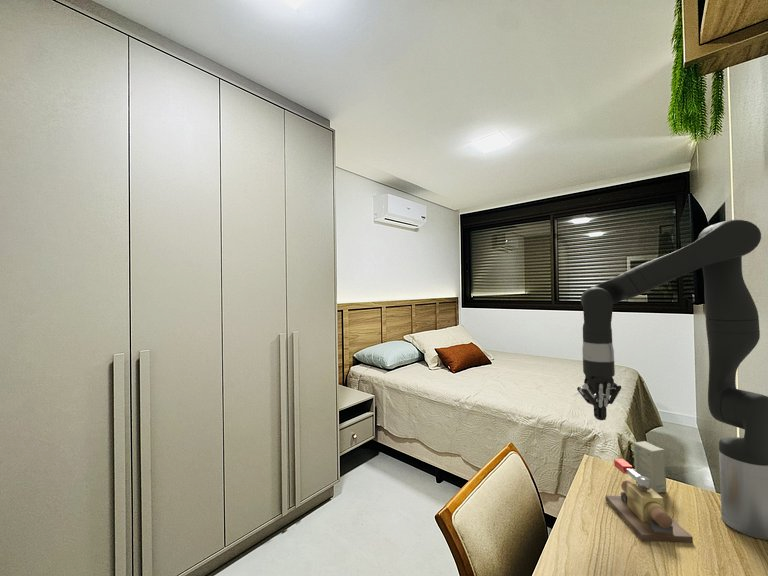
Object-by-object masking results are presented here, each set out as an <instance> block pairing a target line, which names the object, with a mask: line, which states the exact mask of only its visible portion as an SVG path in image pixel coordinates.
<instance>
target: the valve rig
mask: <svg viewBox="0 0 768 576" xmlns="http://www.w3.org/2000/svg"><path fill="white" fill-rule="evenodd" d="M620 487H621V489H622V492H620V495H610V494H609V495H605V502H606V503H607V504H608V506H610V507H611V509H613V511H614V512H615V513H616V514H617V515H618V516H619V517H620V518H621V519H622V521H623V522H624V523H625V524H626V526H628V527H629V528H630V529H631V530H632V532H633V533H634V534H635V535H636V536H637V537H638V539H639V540H640V541H641V542H653V543H654V542H656V543H674V544H675V543H677V544H678V543H679V544H693V542H694V538H693V536H692V535H691V534H690V533H689V532H688V531H687V530H686V529H685V528H683V527H682V526H681V525H680V524H679V523H678V522H676V520H675V519H673V518H672V517H671V516H670V515H669V514H668V513H667V511H666V509H665V508H664V497H663V496H661V495H660V494H659V493H656V492H655V491H654V490H653V489H652V488H651V489H649V490H646V489H642V488H640V487H639V486H638V483H633V482H632V481H631V480H624V481H622V483H621V485H620Z"/></svg>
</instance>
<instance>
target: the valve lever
mask: <svg viewBox="0 0 768 576" xmlns="http://www.w3.org/2000/svg"><path fill="white" fill-rule="evenodd" d="M613 461H614V462H613V463H614V465H613V466H614V467H615V468H616V469H617V470H619V471H620V472H621V473H622V474H623V475H628V476H630V477H631V478H632V479H633V480H635V482H636V481H637V482H638V483H637V484H638V486H639V487H640V488H642V489H646V490H649V489H651V485H650V479H649V478H647V477H644V476H641V475H639V474H638V473H637V472H635V469H633V468H634V467H633V465H631V464H630V463H629V462H627V461H626V460H625V459H624V458H613Z"/></svg>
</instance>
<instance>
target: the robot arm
mask: <svg viewBox="0 0 768 576" xmlns="http://www.w3.org/2000/svg"><path fill="white" fill-rule="evenodd" d="M761 240H762V233H761V230H760V228H759V227H758V225H756V223H755V224H754V223H753V222H751V221H749V220H744V219H730V220H725V221H720V222H717V223H714V224H711V225H708V226H707V227H705V228H704V229H702V231H701V232H700V233H699V234H698V237H697V239H696V240H695V241H693V242H691V243H690V244H688V245H686V246H683V247H682V248H680V249H679V248H678V249H677V250H675V251H673V252H671V253H668V254H664V255H662V256H659V257H658V258H654V259H652V260H648V261H646V262H644V263H641V264H639V265H637V266H634V267H632V268H631V269H628V270H626V271H624V272H621V274H619V275H617V276H615V277H613V278H611V279H608V280H606V281H603V282H601V283H599V284H596V285H594V286H592V287H590V288H587V289H586V290H584V292H582V294H581V296H580V303H581V305H582V310H583V313H582V314H583V325H582V349H581V350H582V371H583V374H584V380H583V385H582V386H577V388H576V389H577V391H578V393H579V394H580V396H582V398H583V400H584V401H585V402H586V403H587V404H589V405H591V406H592V407H593V416H594V418H595V419H596V420H599V421H605V420H607V416H608V415H607V407H608V406H609V404H610V405H612V404H613V403H614V401H615V400H616V398H617V397H618V395H619V393H620V391H621V389H622V385H619V384H617V383H616V382H615V380H614V376H615V375H616V373H615V372H616V371H615V369H616V368H615V352H614V351H615V350H614V345H613V329H612V318H613V305H615V304H617V303H620V302H621V301H624V300H629V299H632V298H635V297H638V296H641V295H642V294H645V293H647V292H649V291H651V290H654V289H656V288H658V287H660V286H662V285H665V284H668V283H669V282H671V281H673V280H676V279H678V278H680V277H682V276H684V275H687V274H690V273H691V272H694V271H697V270H700V269H702V275H703V284H704V286H703V287H704V290H703V291H704V306H705V308H704V309H705V314H704V315H705V316H704V317H705V329H706V337H707V349H708V362H709V363H708V386H707V403H708V404H707V406H708V410H709V413H710V415H711V416H712V418H713V419H714V420H716V421H718V422H721V423H723V424H726V425H730V426H732V427H735V428H739V429H742V430H744V433H743V434H744V435H743V437H738V436H737V437H736V436H729V437H728V436H727V437H723V438H720V439H719V442H718V453H719V454H718V457H719V482H720V483H719V485H720V512H721V513H720V514H721V518H720V519H722V522H724V524H726V525H727V526H728V527H730V528H731V529H733V530H734V531H737V532H738V533H742V535H743V534H744V535H746V536H748V537H751V538H755V539H760V540H767V541H768V396H767V395H764V394H760V393H756V392H751V391H746V390H743V389H738V388H737V385H736V377H737V376H736V375H737V370H738V369H739V367H740V365H741V363H742V362H743V361H744V360H745V359H746V358H747V357H748V356H749V354H751V352H752V351H753V350H754V349H755V348H756V346H757V344H758V343H759V342H760V341H759V340H760V337H761V332H760V319H759V311H758V308H757V305H756V303H755V301H754V299H753V296H752V295H751V292H750V291H749V288H748V287H747V285H746V282H745V280H744V276H743V264H742V263H743V262H742V258H743V257H744V256H746V255H748V254H750V253H752V252H753V251H754V250H755V249H756V248H757V247H758V246H759V244H760V243H761Z"/></svg>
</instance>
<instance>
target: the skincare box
mask: <svg viewBox="0 0 768 576" xmlns="http://www.w3.org/2000/svg"><path fill="white" fill-rule="evenodd" d="M633 455H634V456H633V458H634V471H635V472H637V473H638V474H639V475H641V476H644V477H647V478H649V479H650V485H651V488H652V489H653V490H654V491H655V492H656V493H657V494H659V493H666V492H667V491H668V489H667V479H666V463H665V461H666V460H665V449H664V448H662V447H659V446H657V445H655V444H652V443H650V442H648V441H646V440H643V441H636V442H635V441H634V442H633ZM635 484H638V482H637V481H636V480H635Z"/></svg>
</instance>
